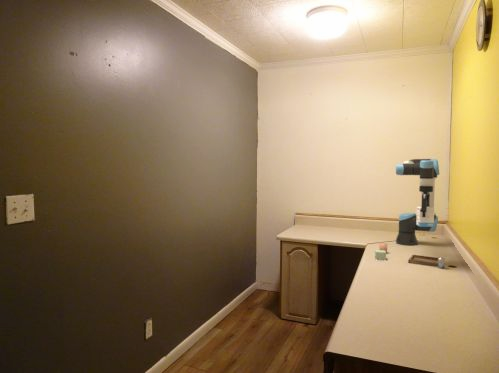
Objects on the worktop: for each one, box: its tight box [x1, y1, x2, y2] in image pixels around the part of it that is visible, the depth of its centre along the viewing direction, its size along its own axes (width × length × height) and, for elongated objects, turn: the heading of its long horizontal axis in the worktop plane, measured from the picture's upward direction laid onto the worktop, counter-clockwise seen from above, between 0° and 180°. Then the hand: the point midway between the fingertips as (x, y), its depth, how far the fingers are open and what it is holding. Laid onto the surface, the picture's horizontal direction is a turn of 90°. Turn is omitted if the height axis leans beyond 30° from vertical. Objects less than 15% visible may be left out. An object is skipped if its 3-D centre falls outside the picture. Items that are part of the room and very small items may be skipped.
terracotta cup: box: [379, 242, 388, 255], centre depth 246 cm, size 5×5×6 cm
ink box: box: [416, 204, 435, 227], centre depth 221 cm, size 9×8×13 cm
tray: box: [407, 254, 438, 268], centre depth 223 cm, size 15×16×2 cm
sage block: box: [374, 249, 387, 261], centre depth 231 cm, size 6×6×5 cm
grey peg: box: [437, 256, 446, 270], centre depth 210 cm, size 4×4×6 cm
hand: (425, 221), depth 221 cm, fingers closed on ink box, 10 cm apart
